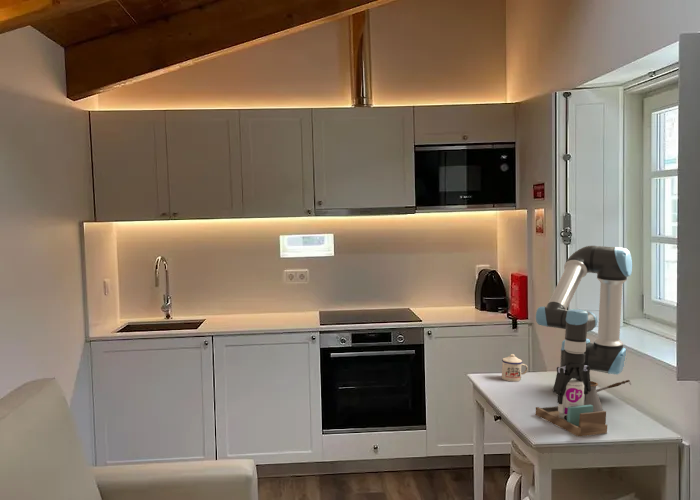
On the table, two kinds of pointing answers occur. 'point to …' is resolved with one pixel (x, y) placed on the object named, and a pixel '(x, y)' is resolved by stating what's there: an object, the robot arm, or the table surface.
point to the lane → (587, 422)
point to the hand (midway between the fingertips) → (570, 411)
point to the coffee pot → (593, 396)
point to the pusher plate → (577, 413)
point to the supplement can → (573, 396)
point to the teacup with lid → (512, 368)
